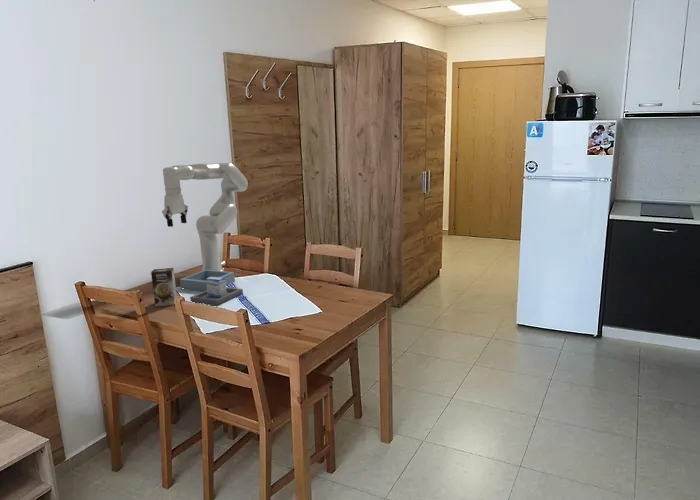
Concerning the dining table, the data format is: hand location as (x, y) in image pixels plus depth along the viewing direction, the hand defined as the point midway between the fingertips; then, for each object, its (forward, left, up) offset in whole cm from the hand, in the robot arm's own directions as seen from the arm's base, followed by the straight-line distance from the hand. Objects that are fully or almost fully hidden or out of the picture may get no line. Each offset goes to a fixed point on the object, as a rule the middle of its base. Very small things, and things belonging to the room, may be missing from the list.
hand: (177, 224), depth 276 cm
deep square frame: (+2, +18, -30) cm, 35 cm away
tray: (+18, +37, -30) cm, 51 cm away
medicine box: (+18, +37, -30) cm, 50 cm away
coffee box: (+32, +19, -31) cm, 48 cm away
